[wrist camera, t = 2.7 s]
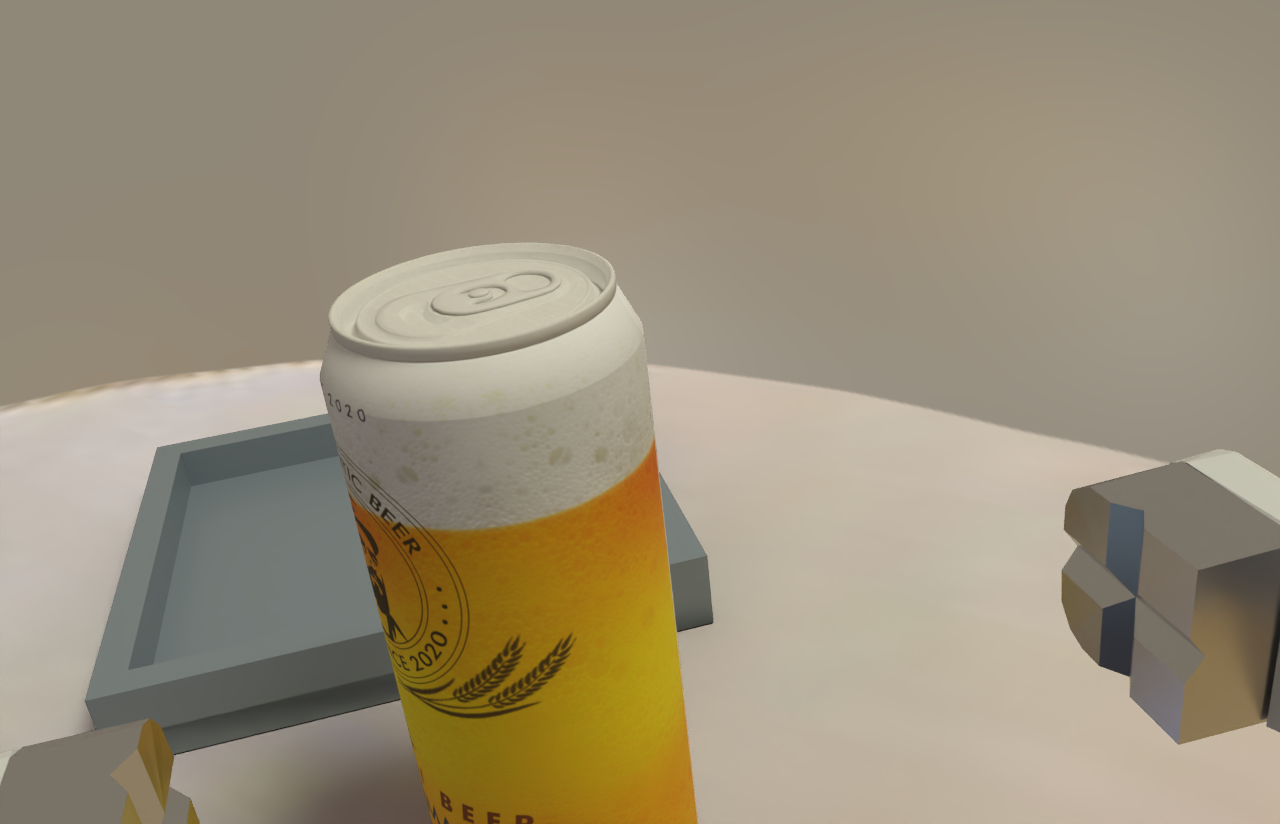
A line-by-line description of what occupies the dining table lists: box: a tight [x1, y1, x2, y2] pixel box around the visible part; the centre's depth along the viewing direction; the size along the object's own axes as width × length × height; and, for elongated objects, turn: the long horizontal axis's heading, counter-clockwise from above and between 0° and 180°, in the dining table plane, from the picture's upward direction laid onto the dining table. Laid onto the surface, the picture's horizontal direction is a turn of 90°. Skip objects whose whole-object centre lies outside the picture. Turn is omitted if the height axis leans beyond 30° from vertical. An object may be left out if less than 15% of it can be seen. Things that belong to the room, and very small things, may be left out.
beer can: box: [320, 243, 698, 824], centre depth 24 cm, size 6×6×15 cm
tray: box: [85, 414, 713, 754], centre depth 41 cm, size 18×16×2 cm
